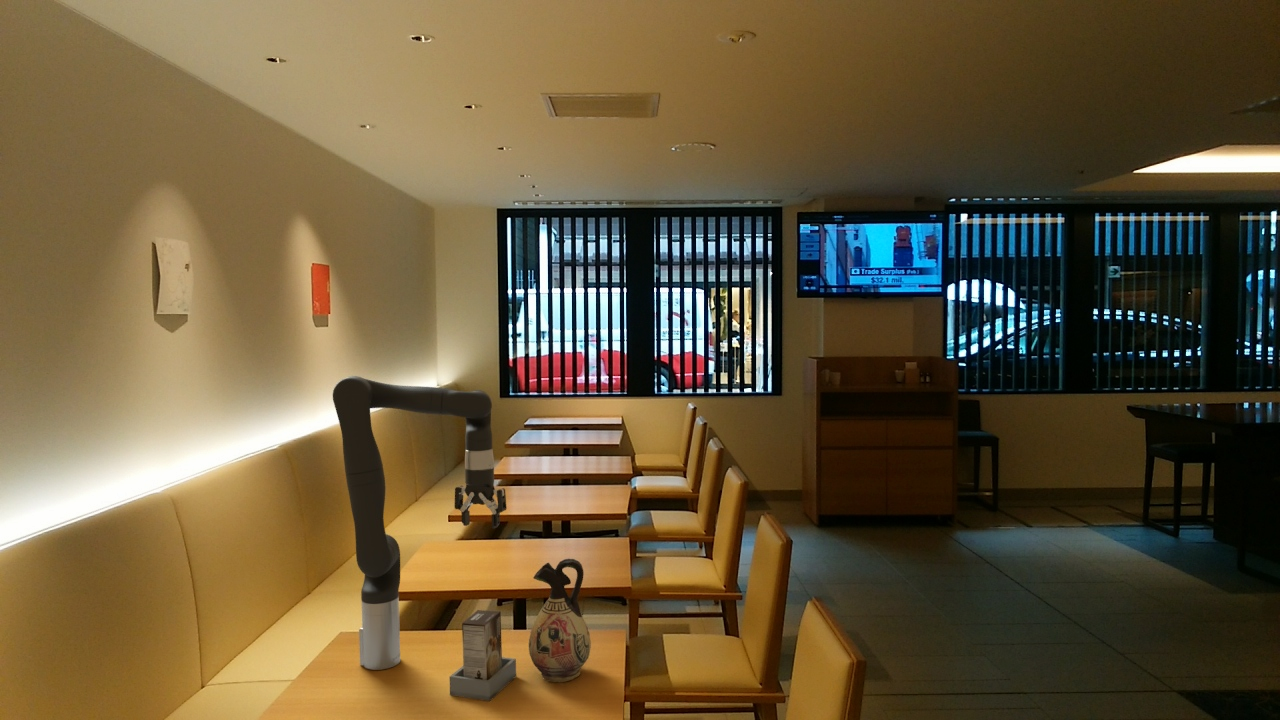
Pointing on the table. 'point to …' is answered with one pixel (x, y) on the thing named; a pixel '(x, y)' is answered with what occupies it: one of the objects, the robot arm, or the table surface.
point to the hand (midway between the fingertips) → (480, 526)
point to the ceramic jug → (560, 627)
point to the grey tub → (483, 682)
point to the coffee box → (482, 644)
